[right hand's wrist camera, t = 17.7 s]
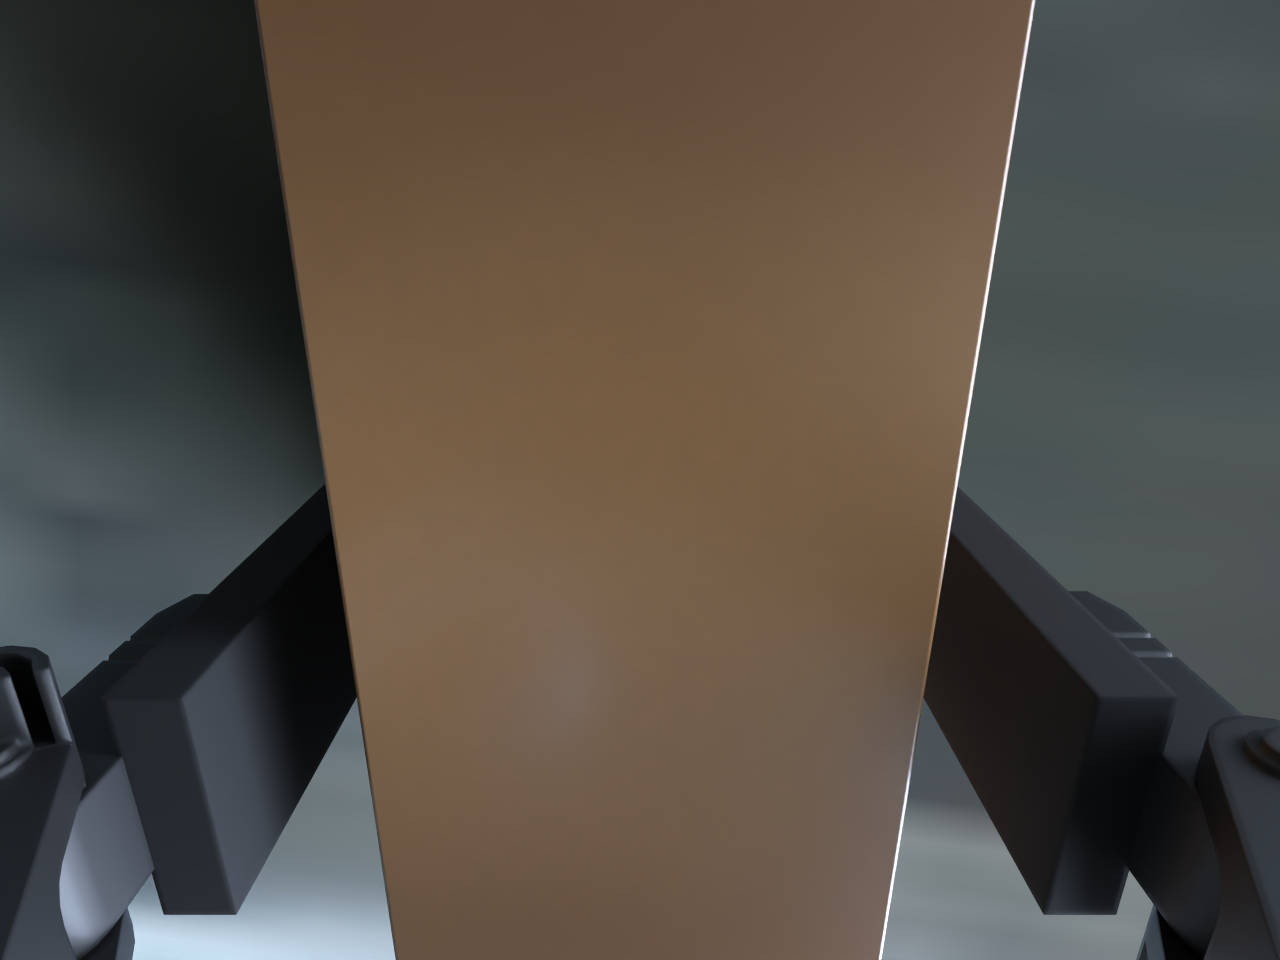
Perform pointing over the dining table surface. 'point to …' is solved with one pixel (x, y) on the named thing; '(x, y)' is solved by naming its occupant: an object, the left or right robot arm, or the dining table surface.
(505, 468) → the bar
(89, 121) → the dining table surface
